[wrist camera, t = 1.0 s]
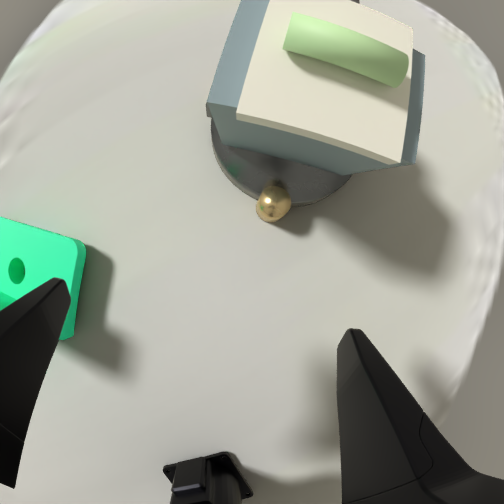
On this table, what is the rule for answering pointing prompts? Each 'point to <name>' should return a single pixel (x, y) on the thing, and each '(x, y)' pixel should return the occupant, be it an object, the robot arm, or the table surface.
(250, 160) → the tribrach base
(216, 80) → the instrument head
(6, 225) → the camera mount
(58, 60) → the table surface
